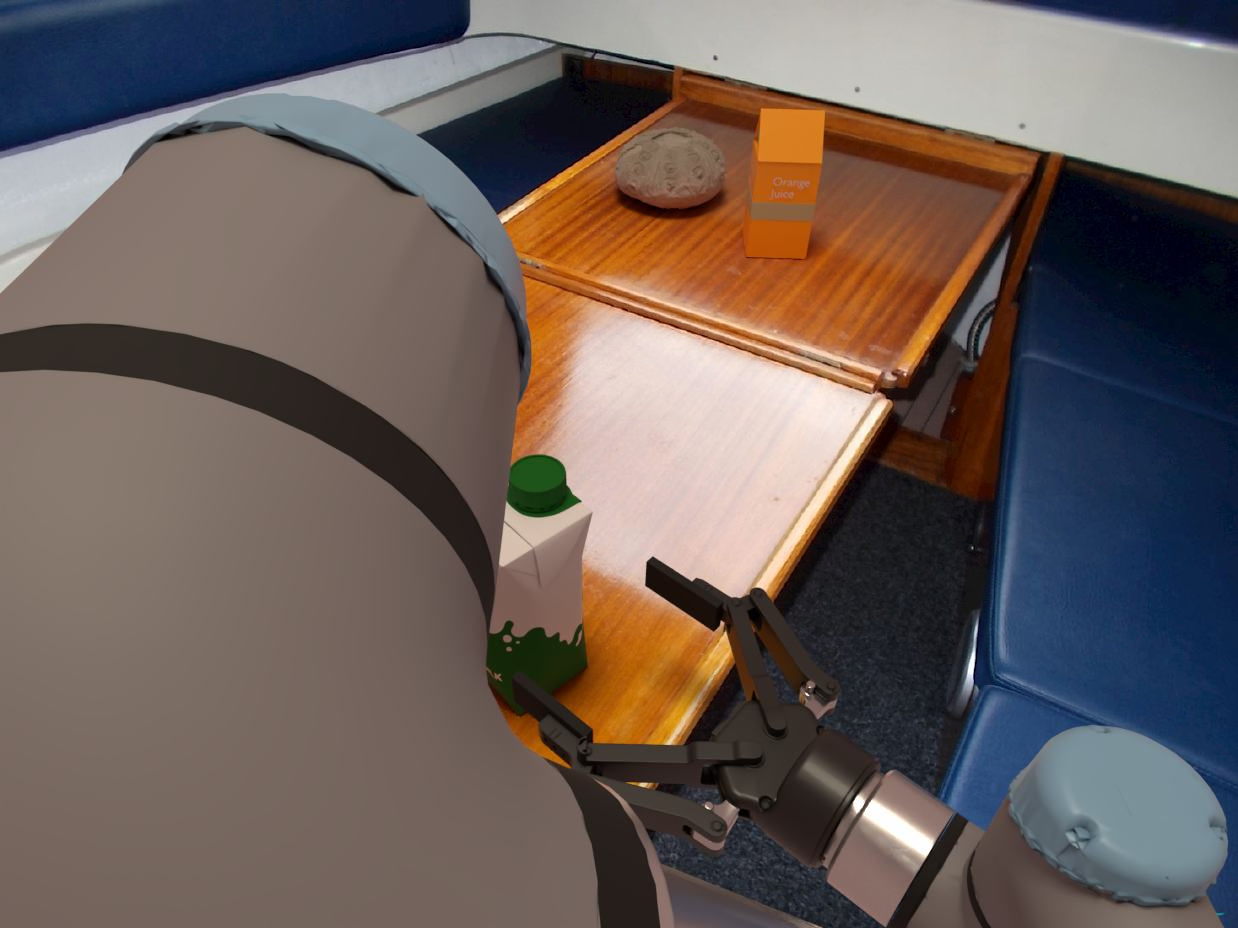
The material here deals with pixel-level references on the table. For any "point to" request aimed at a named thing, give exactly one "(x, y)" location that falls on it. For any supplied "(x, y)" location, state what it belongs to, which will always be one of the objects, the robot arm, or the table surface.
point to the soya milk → (539, 581)
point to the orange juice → (783, 182)
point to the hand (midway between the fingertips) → (586, 624)
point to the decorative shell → (670, 168)
